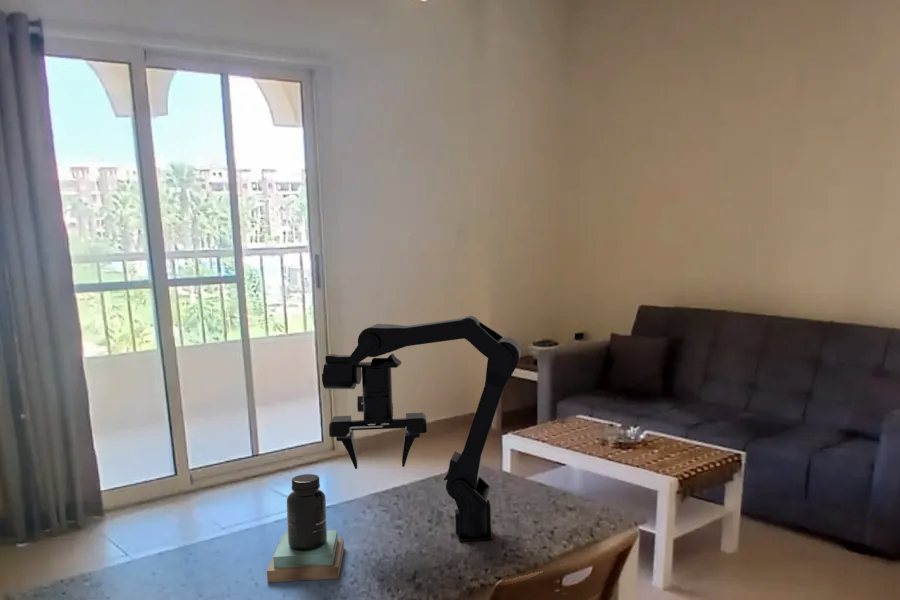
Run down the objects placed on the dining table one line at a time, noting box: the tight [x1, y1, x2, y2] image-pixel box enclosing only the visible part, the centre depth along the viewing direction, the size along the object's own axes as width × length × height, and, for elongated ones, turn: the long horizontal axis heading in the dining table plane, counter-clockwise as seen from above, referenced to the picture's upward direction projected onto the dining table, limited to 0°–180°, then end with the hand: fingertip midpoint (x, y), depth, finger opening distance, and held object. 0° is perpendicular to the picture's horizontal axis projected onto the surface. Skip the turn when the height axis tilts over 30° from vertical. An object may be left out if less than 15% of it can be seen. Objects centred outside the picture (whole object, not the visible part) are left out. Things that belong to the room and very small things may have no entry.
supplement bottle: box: [286, 473, 328, 551], centre depth 127 cm, size 7×7×12 cm
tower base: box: [266, 529, 345, 583], centre depth 128 cm, size 12×12×4 cm
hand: (379, 467), depth 141 cm, fingers open, 9 cm apart
